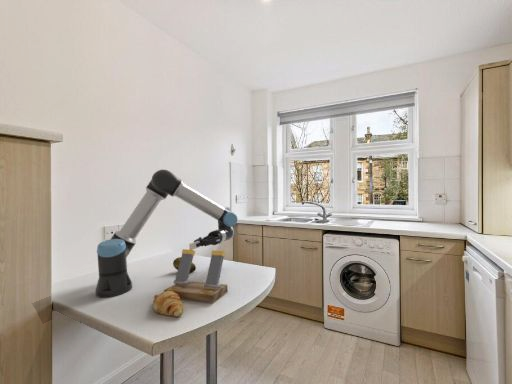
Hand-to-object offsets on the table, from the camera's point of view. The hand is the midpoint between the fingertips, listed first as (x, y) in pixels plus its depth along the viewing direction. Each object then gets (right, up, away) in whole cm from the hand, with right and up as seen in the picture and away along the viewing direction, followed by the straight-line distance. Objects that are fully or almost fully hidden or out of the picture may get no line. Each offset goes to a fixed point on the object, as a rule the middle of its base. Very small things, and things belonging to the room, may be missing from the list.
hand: (190, 246), depth 124 cm
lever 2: (+12, -13, -14) cm, 23 cm away
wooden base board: (+5, -18, -11) cm, 22 cm away
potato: (-9, -19, +23) cm, 31 cm away
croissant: (-3, -19, -24) cm, 31 cm away
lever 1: (-2, -14, -8) cm, 16 cm away
